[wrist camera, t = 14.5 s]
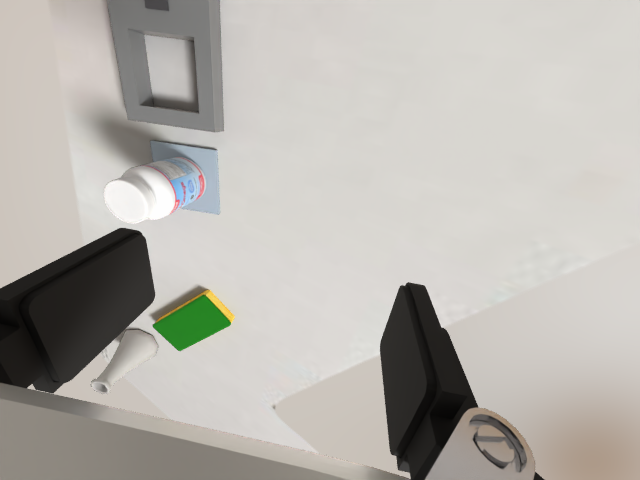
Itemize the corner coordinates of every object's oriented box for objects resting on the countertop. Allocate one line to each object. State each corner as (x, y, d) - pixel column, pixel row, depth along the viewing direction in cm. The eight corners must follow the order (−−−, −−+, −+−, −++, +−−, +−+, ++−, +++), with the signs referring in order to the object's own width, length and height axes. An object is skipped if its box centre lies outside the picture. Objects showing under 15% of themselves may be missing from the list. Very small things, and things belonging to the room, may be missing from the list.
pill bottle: (198, 207, 39) (144, 241, 29) (159, 183, 38) (89, 209, 28) (214, 173, 36) (161, 196, 26) (173, 146, 35) (102, 159, 25)
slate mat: (152, 140, 36) (150, 140, 36) (217, 150, 36) (215, 150, 35) (161, 204, 40) (159, 205, 40) (220, 213, 39) (218, 214, 39)
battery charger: (100, -151, 25) (68, -185, 22) (214, -141, 24) (196, -174, 22) (142, 119, 35) (124, 119, 32) (223, 130, 34) (212, 132, 32)
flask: (157, 332, 52) (116, 378, 43) (161, 358, 55) (123, 405, 46) (122, 324, 52) (73, 368, 43) (127, 350, 55) (83, 396, 46)
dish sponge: (236, 315, 48) (231, 325, 46) (186, 342, 53) (178, 352, 51) (210, 287, 46) (203, 295, 44) (159, 317, 51) (151, 326, 49)
